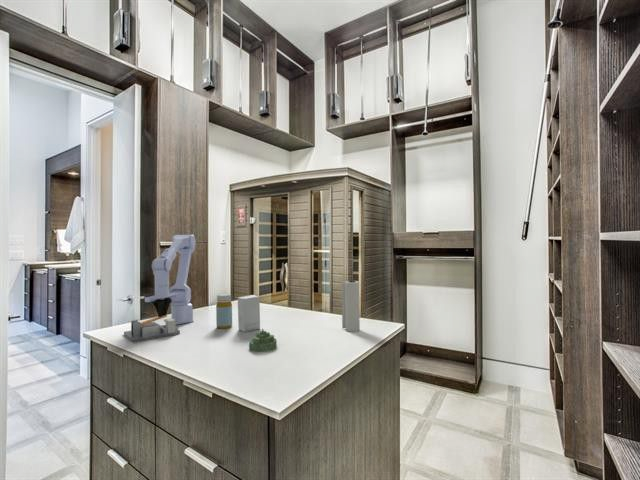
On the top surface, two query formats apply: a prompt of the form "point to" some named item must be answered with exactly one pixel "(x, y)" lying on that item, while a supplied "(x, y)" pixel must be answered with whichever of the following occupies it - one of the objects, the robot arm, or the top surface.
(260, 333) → the decorative artifact
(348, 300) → the tall grey block
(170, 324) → the clip
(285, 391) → the top surface
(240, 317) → the skincare box
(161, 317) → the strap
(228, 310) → the bottle
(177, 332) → the grey workpiece holding fixture
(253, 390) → the top surface
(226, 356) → the top surface
